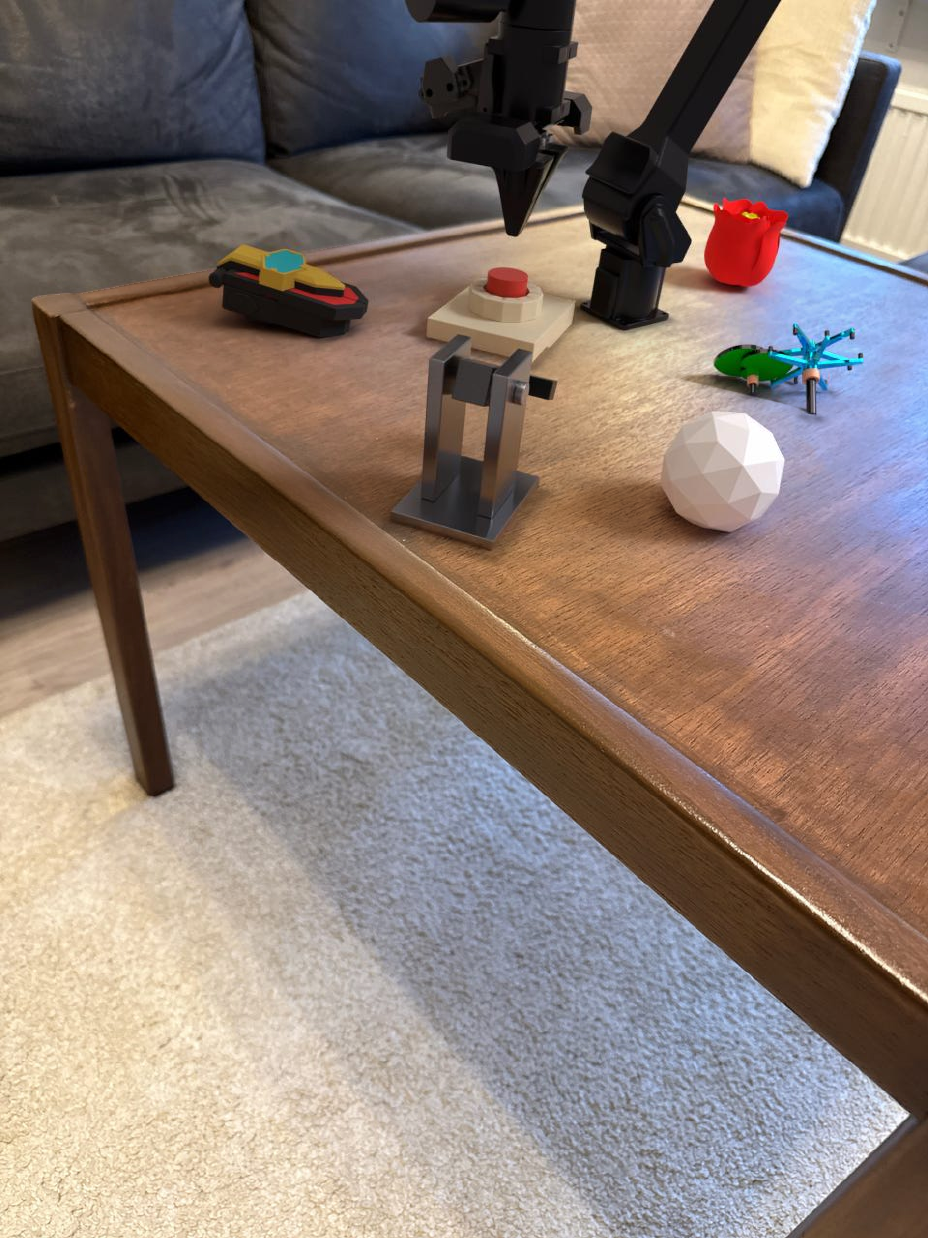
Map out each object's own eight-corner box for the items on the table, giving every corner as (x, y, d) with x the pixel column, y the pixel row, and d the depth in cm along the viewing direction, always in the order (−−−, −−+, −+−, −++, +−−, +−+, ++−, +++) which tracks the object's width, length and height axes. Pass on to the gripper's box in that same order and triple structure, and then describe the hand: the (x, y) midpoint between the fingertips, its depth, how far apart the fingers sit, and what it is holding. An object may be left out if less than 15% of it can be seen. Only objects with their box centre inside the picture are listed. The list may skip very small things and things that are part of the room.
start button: (494, 283, 87) (496, 263, 86) (531, 291, 86) (533, 272, 85) (480, 295, 84) (481, 275, 83) (517, 303, 84) (520, 283, 82)
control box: (475, 300, 93) (479, 259, 91) (572, 323, 91) (578, 281, 88) (425, 341, 84) (428, 297, 82) (531, 367, 82) (537, 322, 79)
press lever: (485, 390, 68) (492, 356, 67) (551, 407, 66) (559, 373, 66) (429, 392, 57) (437, 352, 57) (506, 413, 56) (515, 372, 55)
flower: (778, 284, 105) (800, 208, 100) (755, 302, 99) (777, 223, 94) (711, 266, 108) (729, 192, 103) (686, 283, 102) (703, 205, 97)
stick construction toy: (859, 363, 83) (865, 309, 76) (861, 435, 80) (868, 386, 73) (716, 375, 86) (710, 324, 79) (715, 444, 84) (708, 398, 77)
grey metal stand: (445, 465, 67) (457, 317, 61) (537, 491, 66) (560, 342, 59) (390, 526, 61) (396, 367, 54) (491, 557, 59) (510, 397, 52)
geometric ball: (699, 570, 65) (690, 519, 58) (649, 479, 68) (634, 421, 61) (804, 520, 64) (807, 462, 57) (748, 430, 67) (744, 365, 60)
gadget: (348, 360, 83) (358, 299, 79) (204, 314, 83) (208, 251, 79) (368, 333, 88) (378, 275, 84) (232, 290, 88) (237, 230, 84)
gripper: (482, 1, 81) (467, 194, 91) (387, 20, 68) (381, 245, 77) (607, 19, 79) (578, 215, 88) (534, 43, 65) (509, 273, 74)
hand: (513, 234), depth 82 cm, fingers closed
